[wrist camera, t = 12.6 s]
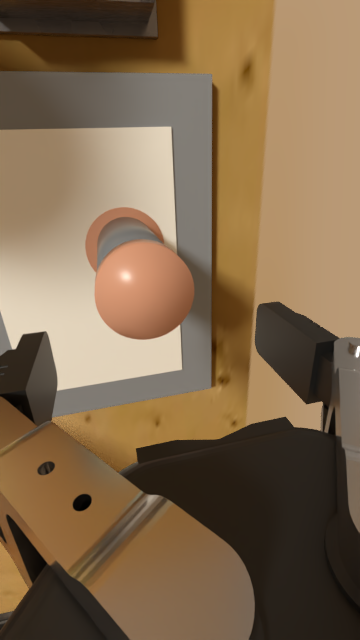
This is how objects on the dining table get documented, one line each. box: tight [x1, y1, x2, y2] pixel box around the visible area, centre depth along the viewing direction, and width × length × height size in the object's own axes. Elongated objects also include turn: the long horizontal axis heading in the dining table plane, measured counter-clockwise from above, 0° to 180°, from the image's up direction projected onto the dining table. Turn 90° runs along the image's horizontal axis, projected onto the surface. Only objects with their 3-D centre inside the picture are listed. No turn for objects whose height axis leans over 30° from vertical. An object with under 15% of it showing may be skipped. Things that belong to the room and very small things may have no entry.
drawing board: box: [0, 71, 212, 417], centre depth 25 cm, size 26×20×1 cm
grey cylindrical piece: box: [94, 217, 194, 340], centre depth 19 cm, size 5×5×11 cm
